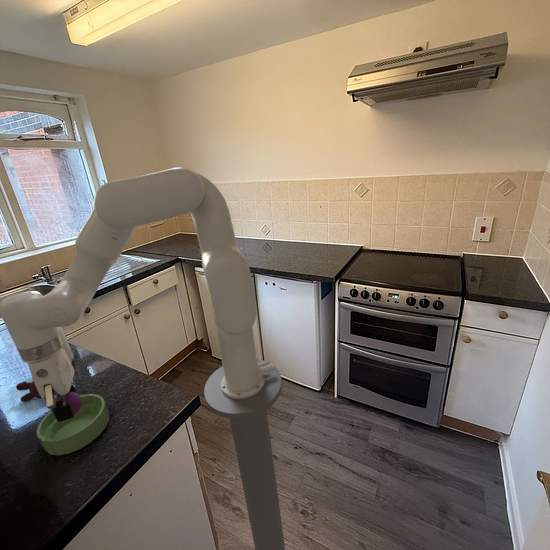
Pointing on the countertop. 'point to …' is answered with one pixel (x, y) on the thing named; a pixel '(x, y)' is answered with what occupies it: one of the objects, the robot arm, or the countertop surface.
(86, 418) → the bowl
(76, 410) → the ball
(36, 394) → the brown gnome figurine
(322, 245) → the countertop surface
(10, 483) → the countertop surface
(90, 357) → the countertop surface
